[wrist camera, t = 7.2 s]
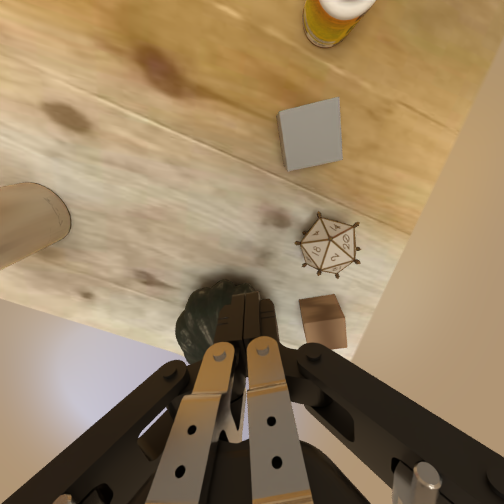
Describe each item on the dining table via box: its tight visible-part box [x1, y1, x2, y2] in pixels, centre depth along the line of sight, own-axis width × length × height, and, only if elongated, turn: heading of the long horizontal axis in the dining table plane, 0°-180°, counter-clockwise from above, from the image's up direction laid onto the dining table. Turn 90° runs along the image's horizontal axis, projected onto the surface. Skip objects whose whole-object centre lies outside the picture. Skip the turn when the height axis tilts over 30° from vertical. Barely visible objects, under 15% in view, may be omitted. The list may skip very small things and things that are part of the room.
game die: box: [295, 211, 361, 279], centre depth 33 cm, size 9×8×10 cm
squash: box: [175, 280, 255, 364], centre depth 37 cm, size 14×15×15 cm
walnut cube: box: [299, 294, 347, 349], centre depth 40 cm, size 6×6×6 cm
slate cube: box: [276, 97, 343, 171], centre depth 29 cm, size 6×6×6 cm
